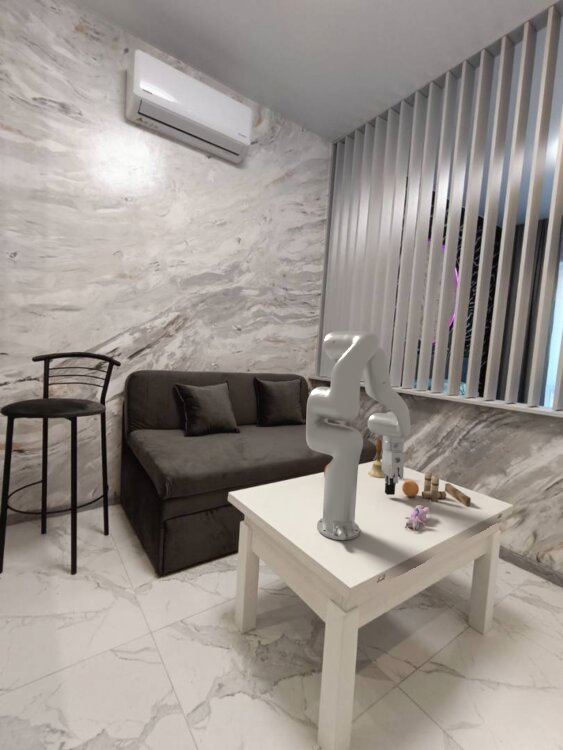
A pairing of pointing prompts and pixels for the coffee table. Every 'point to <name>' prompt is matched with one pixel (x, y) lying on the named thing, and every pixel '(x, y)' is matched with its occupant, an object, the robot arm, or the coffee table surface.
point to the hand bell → (377, 463)
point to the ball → (410, 488)
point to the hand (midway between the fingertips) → (389, 493)
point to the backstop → (457, 494)
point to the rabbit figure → (417, 517)
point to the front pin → (428, 494)
